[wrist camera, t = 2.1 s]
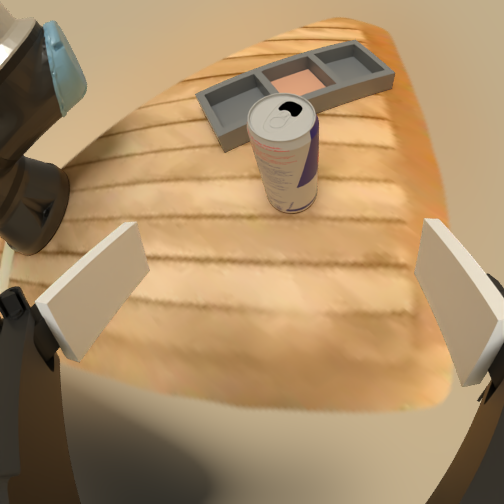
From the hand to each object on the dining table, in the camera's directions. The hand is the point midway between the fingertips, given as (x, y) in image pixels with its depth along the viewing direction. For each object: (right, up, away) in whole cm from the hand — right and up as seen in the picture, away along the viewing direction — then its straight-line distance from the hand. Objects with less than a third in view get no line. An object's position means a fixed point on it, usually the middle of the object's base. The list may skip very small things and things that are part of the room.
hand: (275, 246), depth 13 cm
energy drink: (+3, +6, +18) cm, 19 cm away
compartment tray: (+5, +21, +22) cm, 31 cm away
